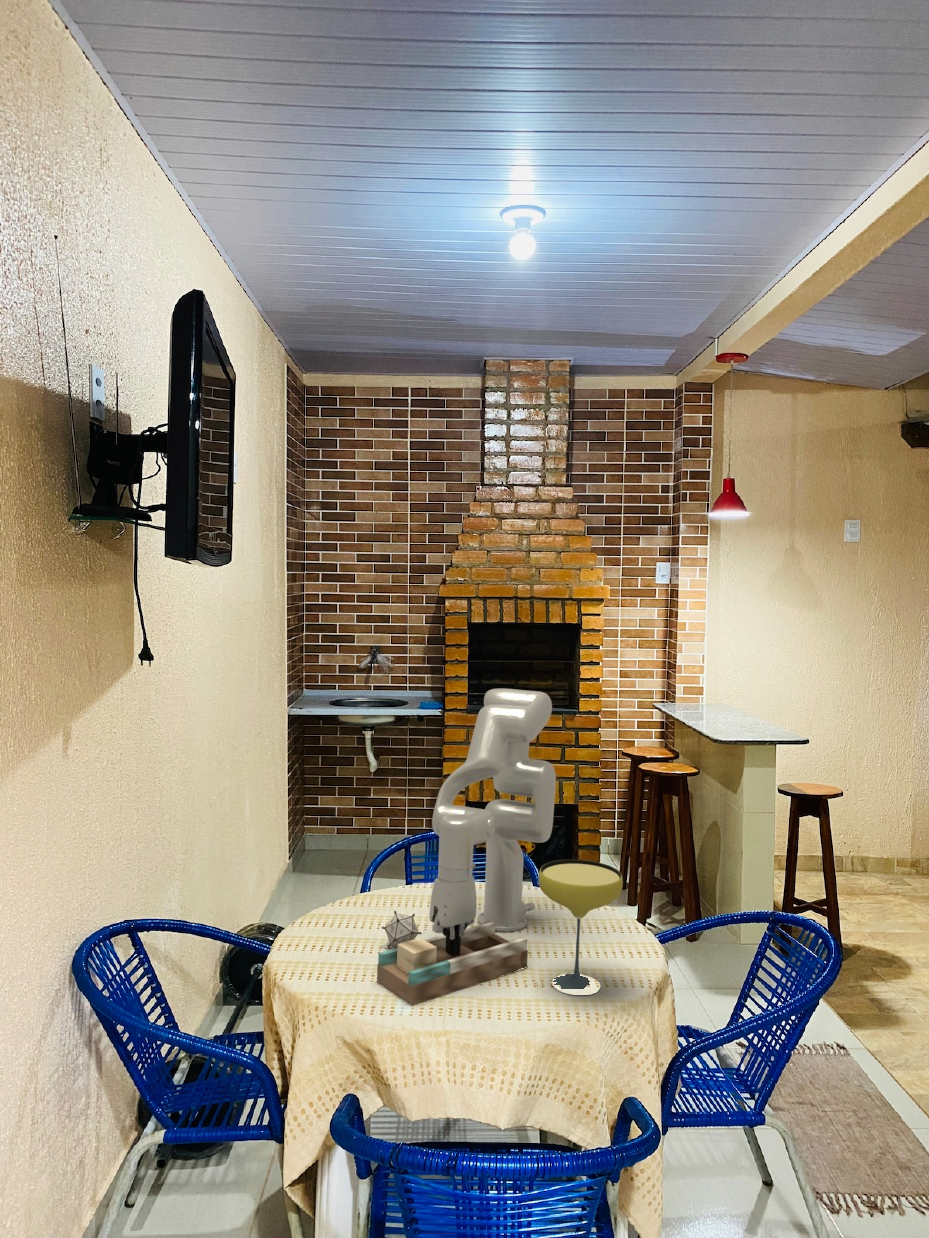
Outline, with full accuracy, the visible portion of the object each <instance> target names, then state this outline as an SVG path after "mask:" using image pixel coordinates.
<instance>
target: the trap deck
mask: <svg viewBox="0 0 929 1238" xmlns="http://www.w3.org/2000/svg"><path fill="white" fill-rule="evenodd" d="M425 941H427V942H428V943H430V944H432V945H434V946H436V947H437V956H436V964H433V965H430V966H427V967H423V968H420V969H417V970H413V971H410V972H409V974H407V973H406V972H404V971H402V970H401V969H399V968H398V967H397V947H395V948H393V949H389V950H384V951H382V952H378V958H377V959H378V960H377V961H378V962H377V965H376V966H377V968H376V969H377V970H376V975H377V977H376V983H377V984H379V985H381V986H382V987H383V988H385V990H388V991H389V992H390V993H392V994H394V995H395V996H396V997H398V998H399V999H402V1000H403V1001H404V1002H406V1003H408V1004H409V1005H410V1006H415V1005H418V1004H421V1003H425V1002H427V1001H431V1000H433V999H436V998H439V997H443V996H446V995H449V994H452V993H454V992H458V991H461V990H464V989H467V988H470V987H473V986H476V985H479V984H482V983H481V982H483V983H485V981H486V982H488V980H489V981H491V980H490V979H492V980H495V979H498V978H500V976H501V977H503V976H502V975H504V976H506V974H507V975H509V974H508V973H510V974H512V973H511V972H513V973H515V972H514V971H516V972H518V971H517V970H519V969H521V968H525V967H527V968H528V958H529V957H528V955H529V952H528V951H529V950H528V938H525V937H521V938H517V939H515V940H511V941H510V940H508V939H506V938H504V937H501V936H499V935H498V934H496V931H495V923H493V922H490V923H486V924H483V925H480V924H479V925H476V926H472V927H469V928H468V927H467V928H466V929H465V931H464V934H463V936H462V937H461V948H460V955H459V956H457V955H456V956H455V957H453V956H451V955H449V954H448V953H446V949H445V947H446V936H444V935H440V936H436V937H432V938H429V939H425ZM525 969H526V968H525ZM519 971H520V970H519ZM494 978H495V979H494ZM478 983H479V984H478Z"/></svg>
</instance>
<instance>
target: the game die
mask: <svg viewBox="0 0 929 1238" xmlns="http://www.w3.org/2000/svg"><path fill="white" fill-rule="evenodd" d="M393 914H394V915H393V916H392V917H391V919H390V920H389V921H388V922H387V924H386V925H385V926H381V927H380V928H381V929H382V930H385V933H386V935H387V938H388V941H389V944H388V949H389V948H391V947H392V946H396V947H397V945H398V944H400V943H403V942H407V941H411V940H414V939H416V937H417V936H418V935H422V931H419V930H418V927H417V925H416V922H415V919H414V917H415V916H416V914H415V913H413V914H412V915H408V914H407V915H406V914H400V913H397V911H396V910H394V911H393Z"/></svg>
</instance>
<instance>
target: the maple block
mask: <svg viewBox="0 0 929 1238" xmlns="http://www.w3.org/2000/svg"><path fill="white" fill-rule="evenodd" d="M425 940H426V939H425ZM425 940H424V939H423V938H422V937H418V938H415V939H414V940H411V941H407V942H403V943H400V944H398V945H397V946H396V948H397V967H398V968H399V969H401V970H402V971H404V972H406V973H407V974H409V972H410V971H413V970H417V969H420V968H423V967H427V966H430V965H433V964H436V956H437V947H436V946H434V945H432V944H430V943H428V942H427V941H425Z"/></svg>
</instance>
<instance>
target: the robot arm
mask: <svg viewBox="0 0 929 1238" xmlns="http://www.w3.org/2000/svg"><path fill="white" fill-rule="evenodd" d="M483 705H484V706H483V707H482V708H480V710H479V712H478V714H477V717H476V721H475V726H474V727H473V728H474V730H473V734H472V737H471V741H470V744H469V749H468V752H467V757H466V760H465V762H464V763H463V764H462V765H460V766H459V767H458V768H457V769H455V770H454V771H453V772H452V773H451V774H450V775H449V776H448V777H447V778H446V779H445V781H444V782H443V784H442V785H441V786H440V789H439V791H438V794H437V798H436V802H435V805H434V809H433V814H432V819H431V820H432V821H431V827H432V831H434V833H435V835H437V836H438V837H439V838H438V840H439V841H438V868H437V869H438V873H437V878H435V879H434V881H433V885H432V890H431V897H430V906H429V921H430V922H431V923H433V926H432V931H433V932H434V933H435V934H443V935H444V936H446V947H445V949H446V953H448V954H449V955H451V956H453V957H455V956H456V955H457V956H459V955H460V948H461V937H462V936H463V934H464V931H465V929H468V927H469V926H471V925H473V924H474V923H475V918H476V915H477V889H476V888H477V887H476V881H475V877H474V876H473V870H475V869H476V864H475V863H474V846H475V845H479V844H483V843H485V844H486V848H485V853H486V854H485V856H486V857H485V876H484V877H485V878H484V879H485V880H484V905H483V906H484V907H483V912H481V913H480V914H478V916H477V923H478V924H479V925H483V924H486V923H490V922H493V923H495V932H515V931H519V930H522V929H524V928H525V927H526V926H527V924H528V918H527V917H526V915H525V914H526V913H527V912H530V911H533V910H535V909H536V905H535V903H534V902H533V901H531V902H527V903H525V902H524V901H523V880H524V879H523V878H524V877H523V876H524V874H523V873H524V854H523V850H522V848H521V846H520V844H519V842H518V841H523V842H528V843H537V844H538V843H539V844H540V843H545V842H547V841H548V840H549V839H550V838H551V834H552V830H553V825H554V824H553V823H554V813H555V802H556V801H555V800H556V797H555V796H556V787H557V786H556V785H557V784H556V782H557V775H556V770H555V768H554V766H553V764H552V763H551V762H549V761H546V760H542V759H536V758H535V759H532V758H530V756H529V755H530V754H529V753H530V742H532V741H534V740H535V739H536V738H537V736H538V735H539V734H540V733H541V731H542V730H543V729H544V728H545V726H546V725H547V724H548V722H549V721H550V718H551V716H552V710H553V703H552V699H551V698H550V695H548V694H547V693H546V692H542V691H537V690H525V689H523V690H522V689H514V688H502V687H501V688H492V689H489V690H487V691H486V692H485V695H484V697H483ZM490 778H493V779H492V780H493V787H494V789H495V791H497V792H499V793H501V794H507V795H512V796H517V797H525V798H531V799H533V802H534V803H533V802H529V801H528V802H526V801H521V800H515V799H514V800H512V799H504V798H500V799H493V800H491V801H490V802H488V803H487V805H486V806H485V808H484V809H482V808H476V807H470V806H465V805H464V806H463V805H455V804H453V803H454V800H455V799H456V797H457V796H458V794H459V793H460V792H461V791H462V790H463V789H466V787H468V786H470V785H473V784H475V783H478V782H480V781H483V780H488V779H490ZM443 935H442V936H443Z"/></svg>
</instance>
